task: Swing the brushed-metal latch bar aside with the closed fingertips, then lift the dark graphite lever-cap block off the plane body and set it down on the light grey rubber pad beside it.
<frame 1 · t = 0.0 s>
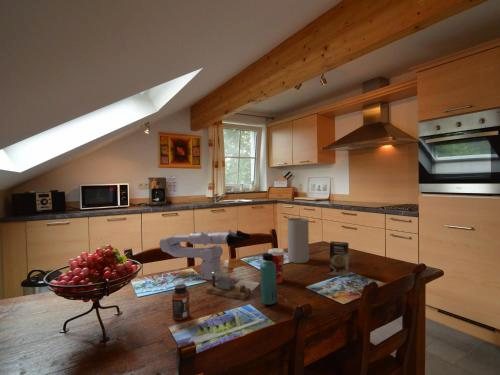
hand: (246, 237, 123), 22 cm above the table, tool horizontal, fingers open, 7 cm apart
coffee cup: (276, 281, 126), on the table
latch bar: (220, 274, 115), point 7 cm above the table, hinge at 0.0°
beverage bottle: (268, 304, 102), on the table
lever cap: (226, 288, 113), point 2 cm above the table, touching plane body
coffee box: (339, 274, 134), on the table
rubber pad: (246, 285, 121), on the table
supplement bottle: (181, 317, 94), on the table
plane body: (228, 292, 113), on the table
cylinder vase: (298, 260, 157), on the table
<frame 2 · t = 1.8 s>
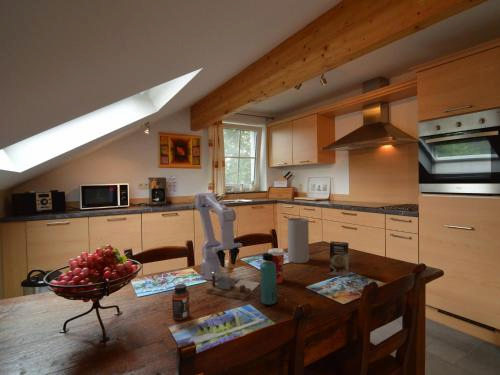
hand: (227, 265, 118), 10 cm above the table, tool pointing down, fingers open, 5 cm apart
nothing on the table moved.
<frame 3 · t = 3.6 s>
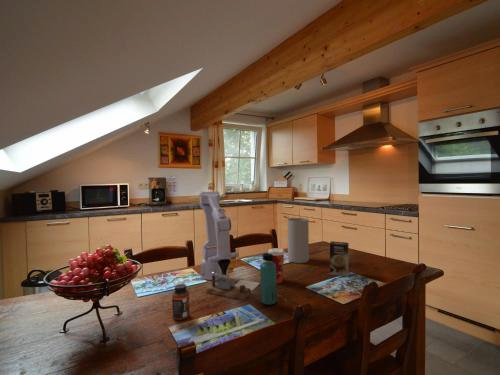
hand: (223, 275, 115), 7 cm above the table, tool pointing down, fingers closed, pressing on latch bar
latch bar: (219, 274, 114), point 8 cm above the table, hinge at -3.6°, touching gripper
everything else where it was.
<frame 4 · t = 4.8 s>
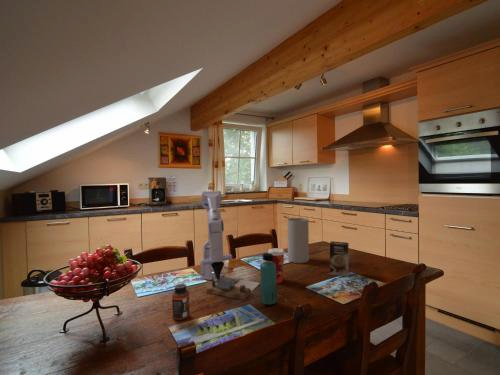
hand: (217, 278, 112), 7 cm above the table, tool pointing down, fingers closed, pressing on latch bar
latch bar: (214, 276, 113), point 8 cm above the table, hinge at -50.5°, touching gripper
everything else where it was.
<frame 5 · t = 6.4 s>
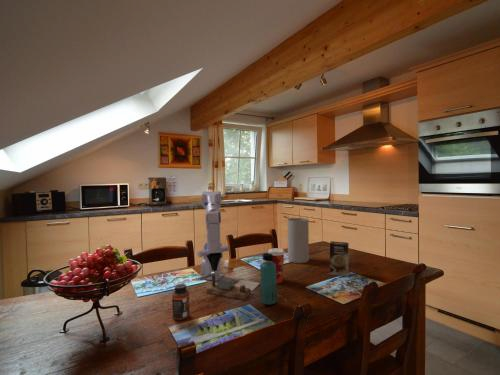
hand: (214, 270, 112), 10 cm above the table, tool pointing down, fingers closed
latch bar: (207, 275, 113), point 8 cm above the table, hinge at -104.9°
everything else where it was.
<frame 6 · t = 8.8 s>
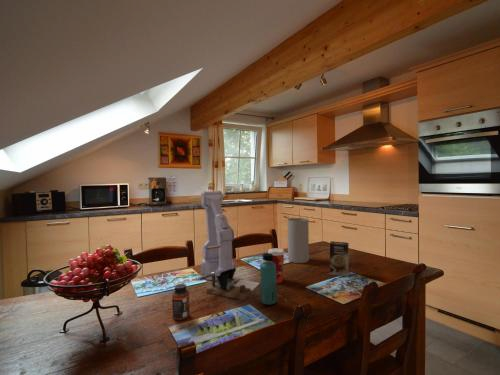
hand: (226, 286, 113), 3 cm above the table, tool pointing down, fingers closed on lever cap, 4 cm apart
latch bar: (207, 275, 113), point 7 cm above the table, hinge at -105.2°
lever cap: (226, 288, 113), point 2 cm above the table, touching gripper, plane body
everything else where it was.
when the fingers open (2 cm above the table, at t = 12.4 s): lever cap stays where it is, resting on rubber pad.
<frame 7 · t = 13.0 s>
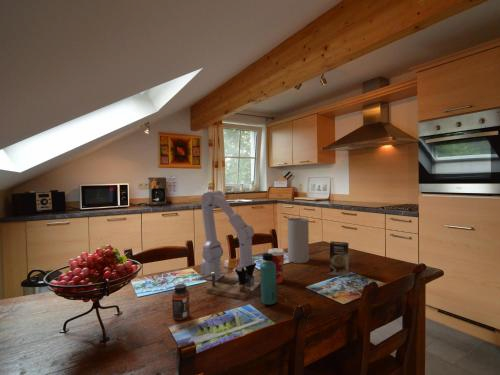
hand: (246, 281, 120), 2 cm above the table, tool pointing down, fingers open, 7 cm apart
lever cap: (246, 284, 121), resting on rubber pad
everything else where it was.
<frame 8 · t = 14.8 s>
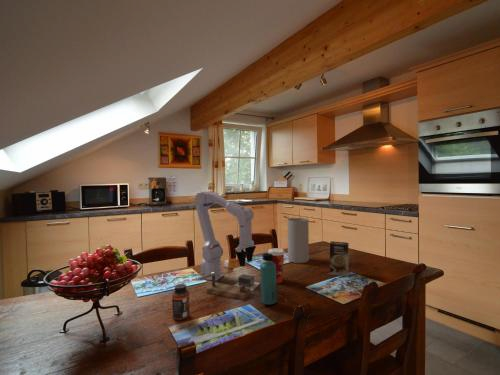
hand: (246, 263, 120), 10 cm above the table, tool pointing down, fingers open, 7 cm apart
nothing on the table moved.
at the end: latch bar at -105° (first picture: +0°); lever cap inside the target area on the rubber pad (0.0 cm from its centre), point 0.4 cm above the rubber pad's base; lever cap tilted 0° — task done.
